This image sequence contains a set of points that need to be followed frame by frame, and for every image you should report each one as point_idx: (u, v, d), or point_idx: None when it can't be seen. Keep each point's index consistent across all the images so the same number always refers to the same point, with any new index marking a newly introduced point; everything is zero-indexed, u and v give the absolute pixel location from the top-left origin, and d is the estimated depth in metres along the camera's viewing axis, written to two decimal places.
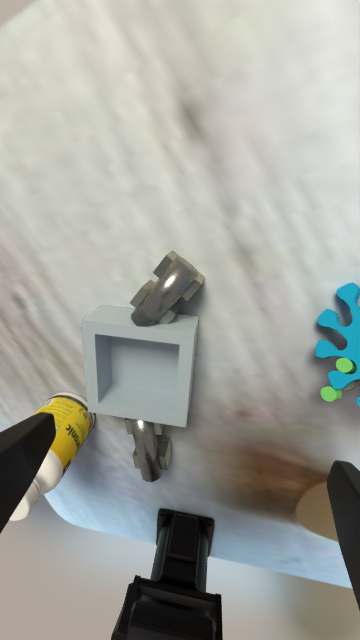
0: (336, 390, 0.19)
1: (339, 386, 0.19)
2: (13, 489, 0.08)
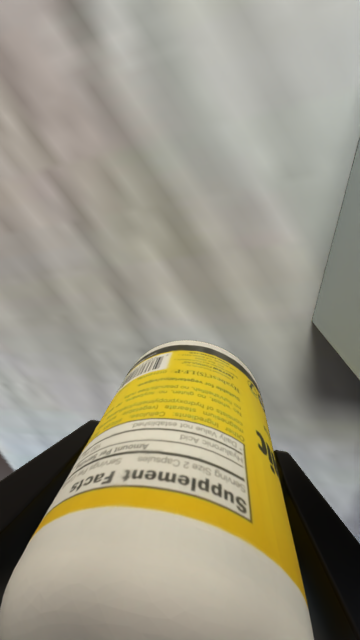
0: None
1: None
2: None
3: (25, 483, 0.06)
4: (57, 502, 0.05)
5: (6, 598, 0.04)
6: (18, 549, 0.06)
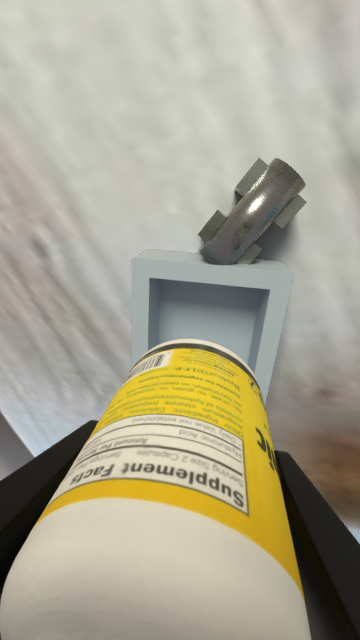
0: None
1: None
2: None
3: (25, 483, 0.06)
4: (58, 494, 0.05)
5: (7, 586, 0.04)
6: (18, 549, 0.06)
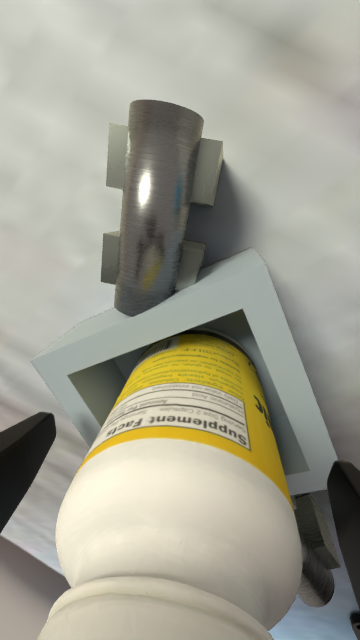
0: None
1: None
2: (13, 489, 0.08)
3: None
4: (96, 445, 0.06)
5: (64, 509, 0.06)
6: None
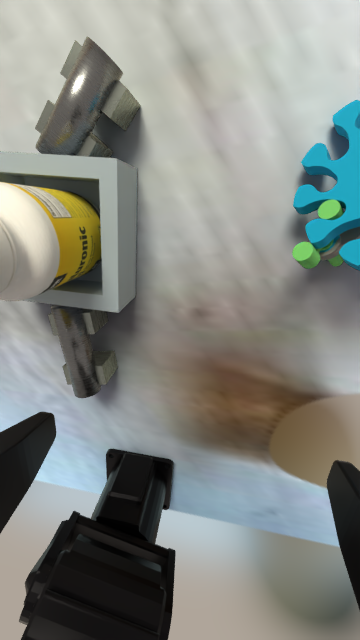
0: (313, 247, 0.14)
1: (318, 238, 0.14)
2: (13, 489, 0.08)
3: None
4: None
5: None
6: None
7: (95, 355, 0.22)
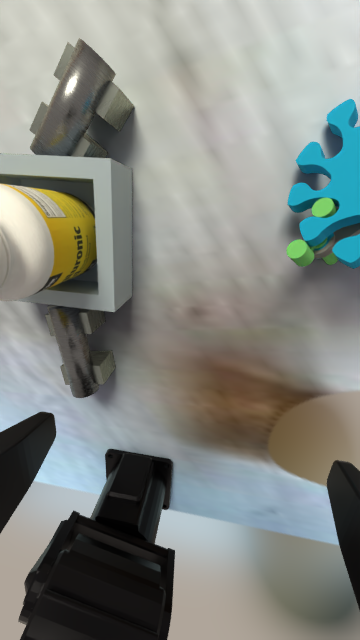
0: (307, 244, 0.14)
1: (312, 235, 0.14)
2: (13, 489, 0.08)
3: None
4: None
5: None
6: None
7: (93, 355, 0.22)
